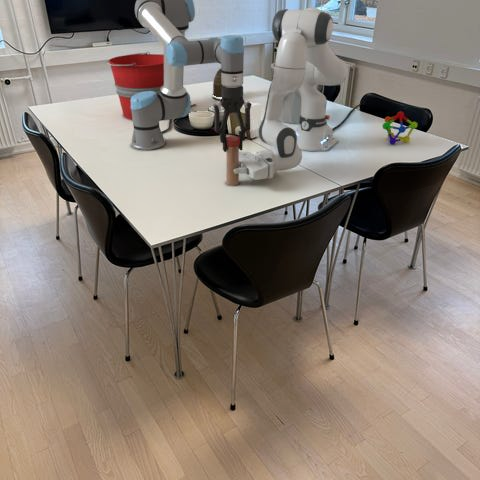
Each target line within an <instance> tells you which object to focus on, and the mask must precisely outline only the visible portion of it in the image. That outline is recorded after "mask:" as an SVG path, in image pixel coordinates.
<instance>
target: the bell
mask: <svg viewBox="0 0 480 480" xmlns="http://www.w3.org/2000/svg"><path fill="white" fill-rule="evenodd" d="M212 83H213V84H212V95H214V96H216V97H222V88H221V87H222V86H223V85H222V84H221V68H219V69H218V70H217V71H216V73H215V75H214V78H213V81H212Z"/></svg>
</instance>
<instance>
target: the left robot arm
mask: <svg viewBox="0 0 480 480" xmlns="http://www.w3.org/2000/svg"><path fill="white" fill-rule="evenodd" d="M195 9H196V8H195V3H194V0H136V1H135V4H134V15H135V18H136V19H137V21H138V22H139V24H140V25H141V26H142V27H143V28H145V29H148V30H149V31H150V32H151V33H152V34H153V36H154V37H155V38H156V39H157V40H158V42H159V43H160V44H161V45H162V46H163V55H164V85H163V86H162V87H161V89H160V94H156V92H154V91H144V92H140V93H137V94H135V95H133V96H132V97H131V110H132V118H133V120H132V125H133V132H132V135H131V147H132V148H134V149H135V150H141V151H151V150H153V151H154V150H157V149H161V148H163V147H164V146H165V144H166V140H165V137H164V135H163V133H166V132H168V131H169V130H171V124H172V121H173V120H174V119H181V118H185V117H187V116H188V115H189V113H190V111H191V108H192V107H195V106H197V104H196V103H194V104H192V100H191V95H190V93H189V92H188V91H187V89H186V87H185V86H184V73H185V71H184V70H185V67H187V66H188V67H189V66H196V65H208V64H220V69H221V84H222V85H223V86H222V87H221V88H222V99H221V100H219V101H220V102H219V103H214V104H213V105H212V106H213V107H212V108H213V109H214V132H215V133H216V134H219V141H220V143H222V150H223V152H224V153H226V137H227V134H226V127H227V124H228V120H229V117H230V114H233V113H234V114H235V116H236V117H237V122H238V126H239V130H238V137H239V138H240V144H239V151H243V147H244V146H243V145H244V144H243V142H245V140H246V133H247V132H250V131H251V109H252V103H251V102H250V101H246V100H245V99H244V86H243V85H244V64H245V63H244V60H245V48H244V38H243V37H242V36H241V35H236V34H234V35H232V34H228V35H222V37H221V38H219V37H209V38H207V39H201V40H199V39H198V40H188V38H186V31H188V30H189V28H190V27H189V26H190V24H189V23H192V22H193V21H194V19H195V16H196V10H195ZM243 107H244V120H243V115H242V112H241V111H242V110H241V109H242V108H243ZM222 108H223V116H222V119H221V120H220V118H221V116H220V115H221V114H220V113H221V112H220V110H221V109H222ZM168 120H169V122H168V128H166V129H165V130H161V127H160V122H161V121H168ZM220 121H221V122H220ZM220 123H221V124H220Z"/></svg>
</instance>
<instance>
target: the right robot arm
mask: <svg viewBox="0 0 480 480" xmlns="http://www.w3.org/2000/svg"><path fill="white" fill-rule="evenodd" d="M271 31H272V32H271V33H272V35H273V37H274V39H275V40H276V41H277V43H278V46H277V50H276V55H275V60H274V61H275V62H274V63H275V70H274V76H272V80H271V82H270V85H269V88H268V92H267V98H266V104H265V110H264V115H263V117H262V121H261V122H260V125H259V128H258V137H259V139H260V141H261V142H262V143H263V144H265V145H266V144H267V145H268V146H270V149H267V150H261V151H256V152H255V154H253V153H252V152H249V151H239V168H233V172H234V173H235V174H237V173H239V174H241V175H242V174H243V175H247V176H248V177H249V178H250V179H251V180H255V181H257V180H264V179H273V178H274V173H275V172H278V171H280V172H283V171H287V170H291V169H294V168H297V167H298V166H299V165H300V164H301V162H302V159H303V151H307V152H320V151H321V152H327V151H329V150H330V149H331V148H333V146H334V145H336V144H337V143H338V139H337V138H335V137H334V131H335V130H336V129H338V128H339V127H341V126H342V125H343V124H344V123H345V122H346V121H347V119H349V117H350V116H351V114H352V113H353V112H354V111H355V110H356V109H358V108H359V107H361V106H362V105H363V106H365V105H366V104H365V103H364V104H362V105H361V103H359V104H357V105H355V106H354V107H353V108H352V109H350V111H349V112H348V113H347V114H346V117H345V118H344V119H343V120H342V121H340V123H339V124H337V125H335V127H331V126H330V125H329V124H328V121H329V120H330V118H331V115H330V114H326V113H327V112H326V111H327V103H328V100H327V97H326V96H325V95H324V93H323V94H322V92H319V91H318V90H317V89H316V87H315V84H317V85H324V86H329V87H331V86H332V87H333V86H340V85H342V84H343V83H344V82H345V81H346V79H347V77H348V71H349V70H348V69H349V68H348V65H347V63H346V62H345V60H343V59H341V58H339V57H338V56H337V55H336V54H335V53H334V52H333V51H332V49H331V47H330V45H329V41H330V39H331V37H332V34H333V31H334V19H333V18H332V16H331V14H329V13H328V12H325V11H322V10H320V9H319V8H317V7H307V8H305V9H288V8H286V9H285V8H284V9H280V10H278V11H276V13H275V14H274V15H273V19H272V24H271ZM297 89H299V92H300V95H301V115H300V117H299V124H297V125H296V130H294V129H293V128H292V127H290V126H288V125H287V124H284V123H283V122H282V121H281V120H280V114H281V109H282V104H283V100H284V97H285V96H286V95H287V94H288V93H291V92H294V91H296V90H297ZM327 120H328V121H327Z"/></svg>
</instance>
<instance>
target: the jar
mask: <svg viewBox="0 0 480 480" xmlns="http://www.w3.org/2000/svg"><path fill="white" fill-rule="evenodd" d="M239 152H240V149H239V145H237V146H228V145H226V152H225V162H226V163H225V166H226V168H225V169H226V185H227V186H231V187H235V186H238V185H239V184H240V173H237V174H235V173H234V172H233V168H239Z"/></svg>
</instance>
